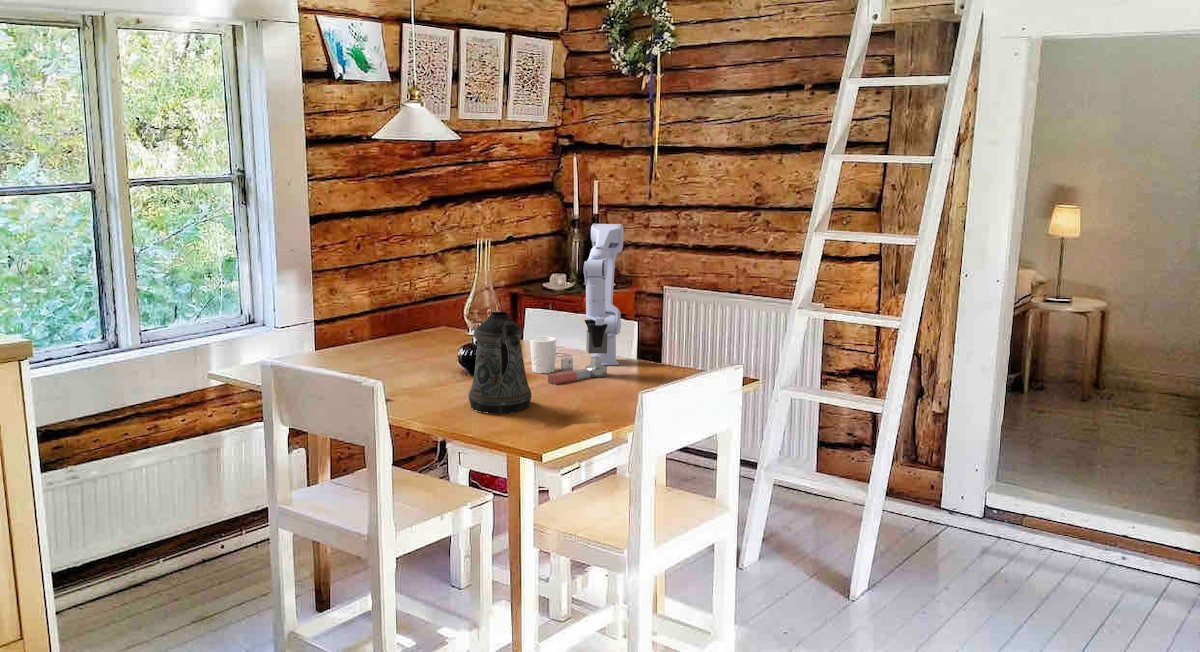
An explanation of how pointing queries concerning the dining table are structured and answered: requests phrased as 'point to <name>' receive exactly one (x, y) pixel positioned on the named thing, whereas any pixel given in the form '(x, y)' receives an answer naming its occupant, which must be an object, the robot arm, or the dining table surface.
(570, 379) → the ratchet
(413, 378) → the dining table surface
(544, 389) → the dining table surface
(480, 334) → the beer stein
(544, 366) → the white cup
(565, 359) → the socket
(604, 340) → the brushed steel cube
